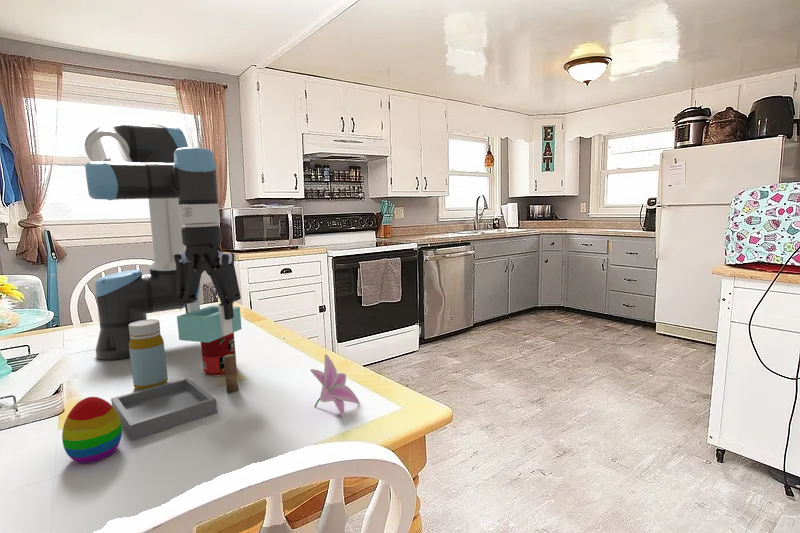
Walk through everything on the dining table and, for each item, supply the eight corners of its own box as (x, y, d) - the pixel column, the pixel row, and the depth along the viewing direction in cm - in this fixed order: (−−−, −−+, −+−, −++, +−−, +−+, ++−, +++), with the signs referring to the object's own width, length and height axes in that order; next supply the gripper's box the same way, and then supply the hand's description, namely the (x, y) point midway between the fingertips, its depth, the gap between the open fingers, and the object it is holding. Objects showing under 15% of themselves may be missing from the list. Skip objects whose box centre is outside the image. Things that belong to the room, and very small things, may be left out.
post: (225, 390, 100) (221, 356, 99) (236, 387, 101) (232, 353, 100) (229, 394, 98) (226, 358, 97) (240, 390, 100) (237, 355, 99)
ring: (179, 340, 92) (176, 316, 91) (219, 325, 103) (217, 304, 102) (208, 342, 89) (206, 318, 89) (246, 327, 100) (244, 305, 100)
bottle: (174, 380, 107) (168, 319, 105) (150, 392, 100) (142, 327, 98) (152, 378, 109) (145, 318, 107) (126, 389, 103) (118, 325, 101)
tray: (112, 411, 91) (111, 398, 91) (189, 389, 101) (188, 377, 101) (132, 440, 79) (130, 425, 79) (217, 412, 89) (216, 398, 89)
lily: (312, 434, 81) (335, 390, 80) (281, 393, 89) (302, 352, 87) (357, 428, 91) (379, 389, 89) (326, 391, 98) (346, 354, 96)
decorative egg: (52, 466, 72) (44, 407, 71) (97, 440, 80) (90, 386, 79) (94, 471, 70) (86, 410, 69) (135, 444, 78) (129, 389, 77)
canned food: (225, 377, 108) (221, 332, 107) (196, 375, 110) (192, 332, 108) (243, 365, 116) (239, 324, 114) (215, 364, 117) (211, 323, 116)
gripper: (147, 227, 92) (160, 335, 95) (228, 225, 85) (239, 341, 88) (176, 225, 99) (187, 325, 102) (253, 223, 92) (262, 331, 95)
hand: (211, 333), depth 95 cm, fingers closed on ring, 7 cm apart
